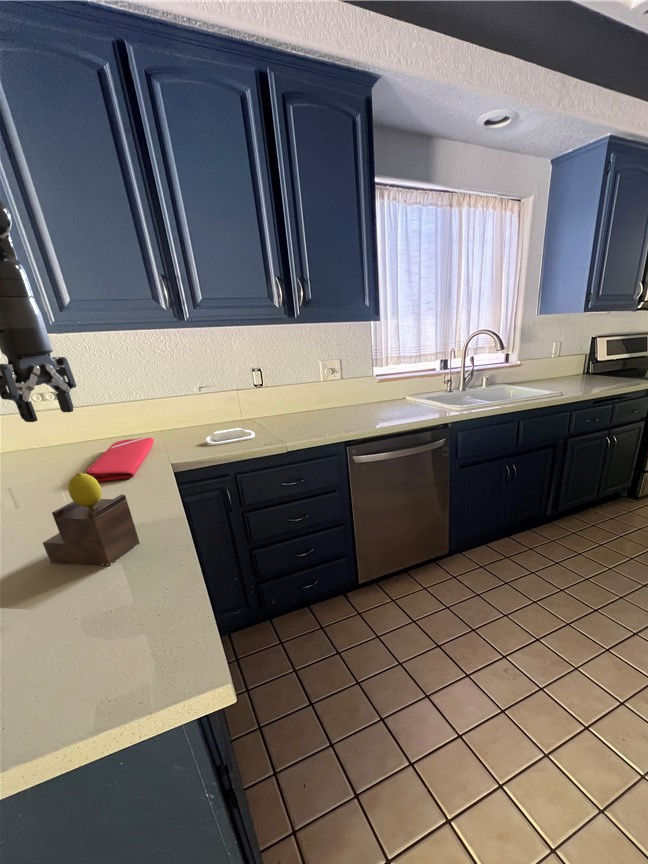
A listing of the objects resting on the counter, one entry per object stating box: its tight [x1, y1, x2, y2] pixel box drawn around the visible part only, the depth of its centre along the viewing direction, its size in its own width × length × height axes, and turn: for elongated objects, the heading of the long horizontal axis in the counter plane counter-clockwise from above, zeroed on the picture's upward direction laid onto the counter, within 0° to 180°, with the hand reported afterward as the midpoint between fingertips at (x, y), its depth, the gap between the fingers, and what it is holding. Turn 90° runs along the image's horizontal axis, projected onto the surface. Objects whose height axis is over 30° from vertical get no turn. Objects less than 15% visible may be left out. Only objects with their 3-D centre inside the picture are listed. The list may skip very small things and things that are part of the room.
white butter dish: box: [205, 427, 256, 446], centre depth 179 cm, size 20×8×4 cm, turn 125°
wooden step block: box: [42, 494, 140, 566], centre depth 93 cm, size 14×10×12 cm
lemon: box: [67, 472, 103, 509], centre depth 89 cm, size 6×6×8 cm
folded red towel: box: [85, 437, 155, 483], centre depth 154 cm, size 16×41×4 cm, turn 17°
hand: (50, 416), depth 83 cm, fingers open, 8 cm apart
